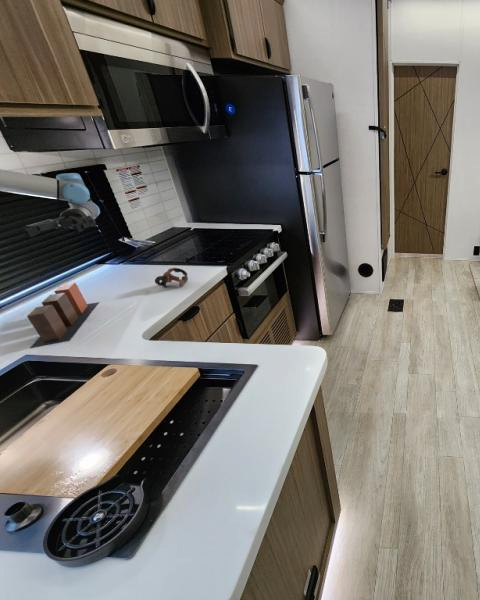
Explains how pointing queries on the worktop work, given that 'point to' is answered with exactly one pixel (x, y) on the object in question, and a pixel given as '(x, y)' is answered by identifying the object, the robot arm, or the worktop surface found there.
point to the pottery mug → (171, 277)
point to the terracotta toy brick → (73, 296)
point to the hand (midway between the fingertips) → (52, 231)
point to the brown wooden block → (62, 308)
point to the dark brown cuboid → (47, 323)
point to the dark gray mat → (69, 327)
